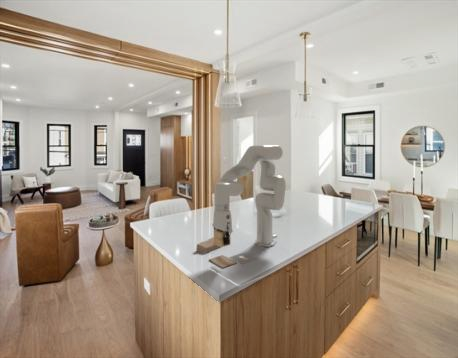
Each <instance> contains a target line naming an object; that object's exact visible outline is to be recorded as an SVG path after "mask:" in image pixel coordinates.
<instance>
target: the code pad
mask: <svg viewBox="0 0 458 358" xmlns="http://www.w3.org/2000/svg"><path fill="white" fill-rule="evenodd" d="M228 258H230V259H232V260H234V261H236V262H237V263H239V264H241V265H245V264H247V263H249V262H252V261H255V260H258V259H259V257H257V256H254V255H252V254H249V253H247V252H245V251H244V252H241V253H238V254H235V255H232V256H228Z"/></svg>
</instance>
